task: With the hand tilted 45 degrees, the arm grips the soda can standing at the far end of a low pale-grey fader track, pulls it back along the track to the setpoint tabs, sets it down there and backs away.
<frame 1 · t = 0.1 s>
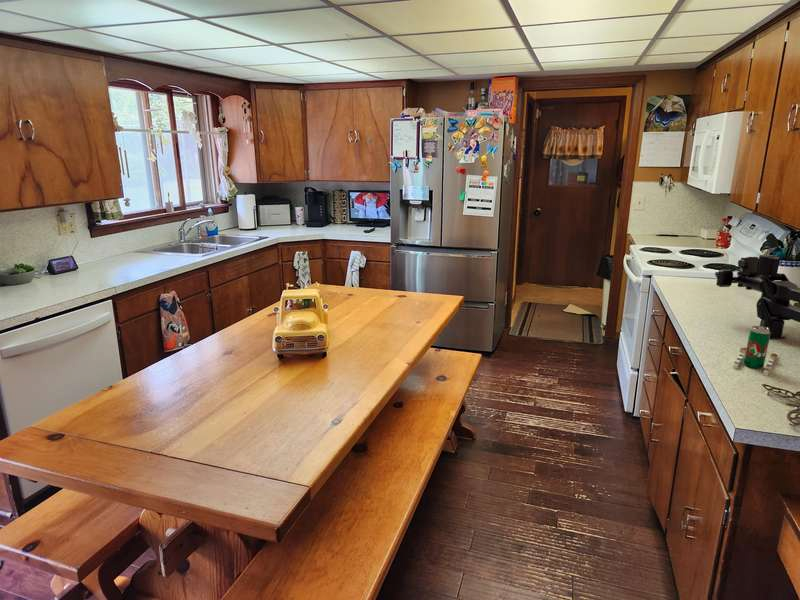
hand: (726, 273, 204), 17 cm above the table, tool horizontal, fingers open, 9 cm apart
soda can: (753, 366, 158), on the table
setpoint tabs: (757, 358, 163), resting on fader track
fader track: (755, 362, 161), on the table
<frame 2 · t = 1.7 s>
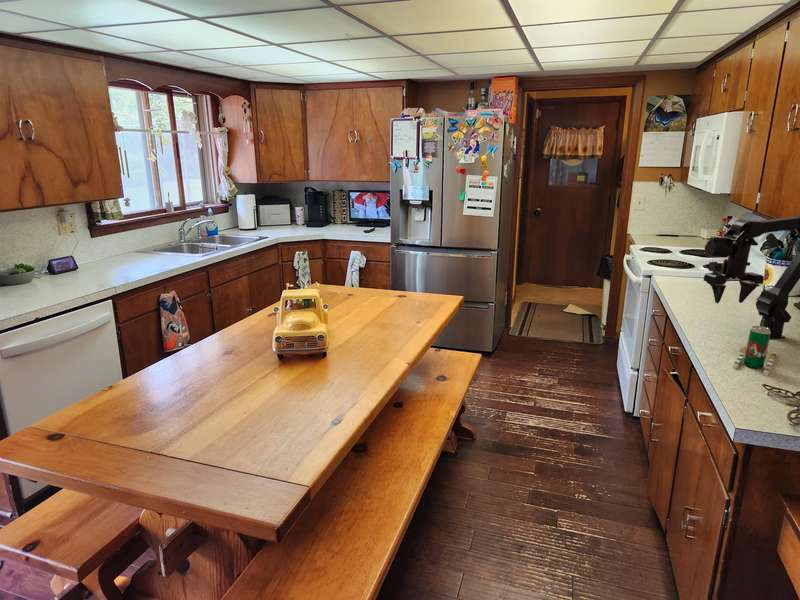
hand: (728, 302, 181), 12 cm above the table, tool pointing down, fingers open, 9 cm apart
nothing on the table moved.
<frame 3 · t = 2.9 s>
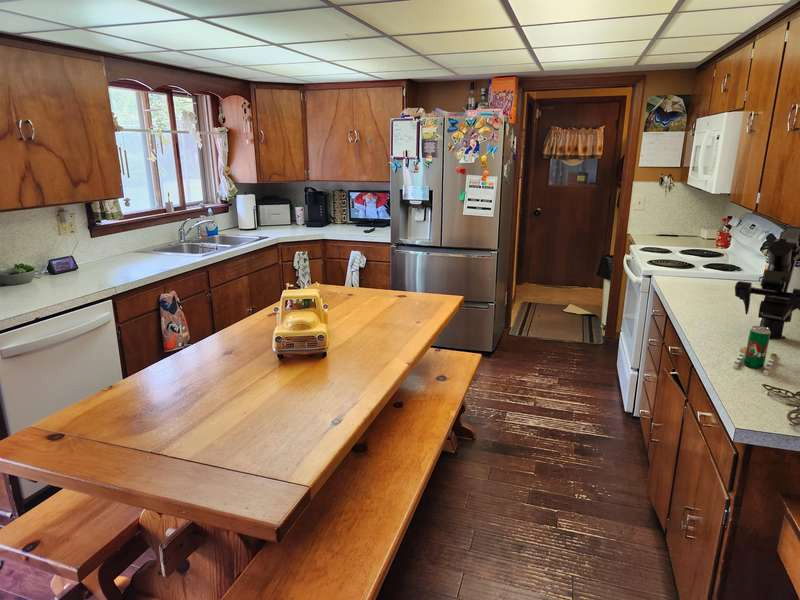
hand: (763, 316, 160), 13 cm above the table, tool tilted 45°, fingers open, 9 cm apart
nothing on the table moved.
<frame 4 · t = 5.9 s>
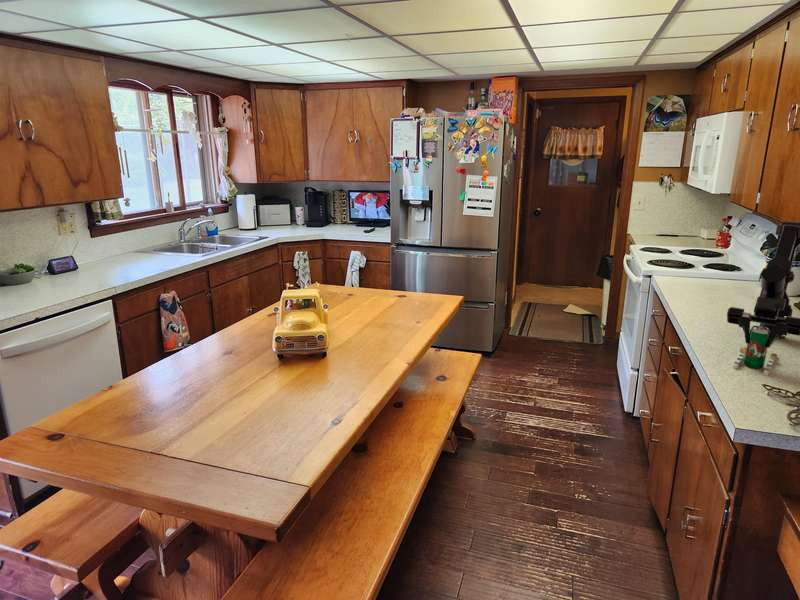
hand: (757, 344, 155), 7 cm above the table, tool tilted 45°, fingers closed on soda can, 5 cm apart
soda can: (753, 366, 158), on the table, touching gripper
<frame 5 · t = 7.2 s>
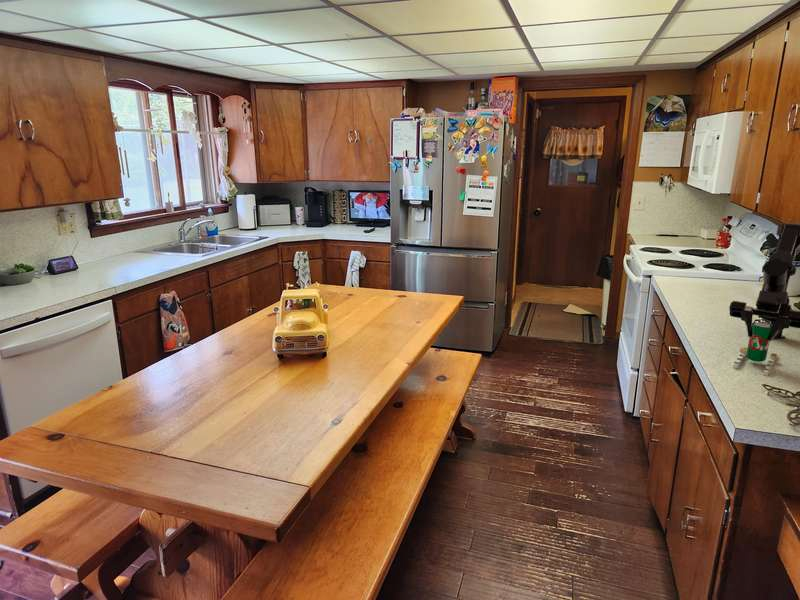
hand: (759, 338, 156), 8 cm above the table, tool tilted 45°, fingers closed on soda can, 5 cm apart
soda can: (755, 359, 159), point 1 cm above the table, touching gripper
when the fingers open (7 cm above the table, at t = 8.9 s): soda can stays where it is, on the table.
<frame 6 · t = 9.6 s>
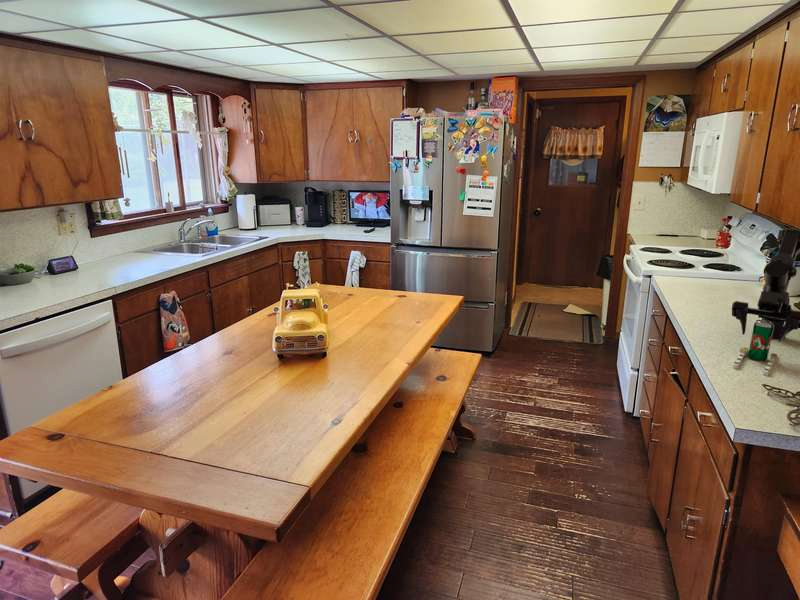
hand: (760, 337, 160), 7 cm above the table, tool tilted 45°, fingers open, 9 cm apart
soda can: (757, 359, 163), on the table
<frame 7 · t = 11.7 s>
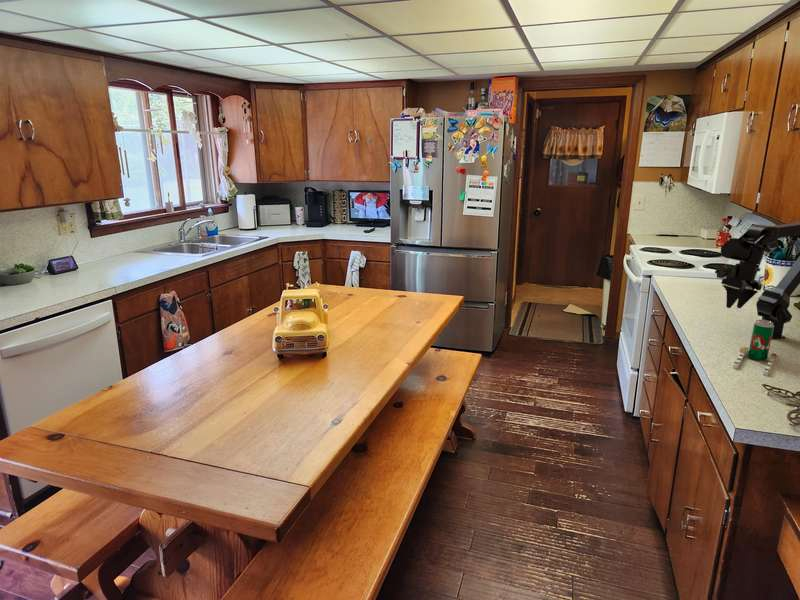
hand: (733, 307, 178), 11 cm above the table, tool pointing down, fingers open, 9 cm apart
nothing on the table moved.
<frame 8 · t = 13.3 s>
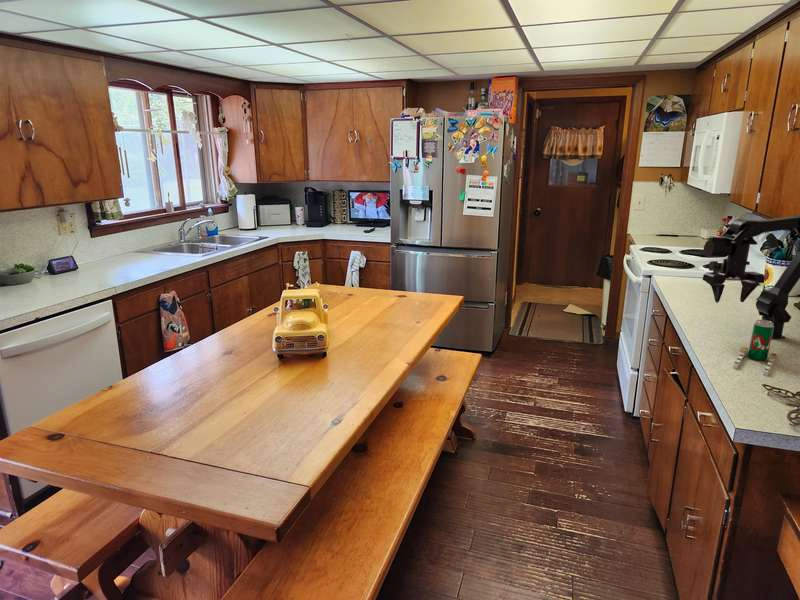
hand: (729, 302, 181), 12 cm above the table, tool pointing down, fingers open, 9 cm apart
nothing on the table moved.
at the end: soda can 0.2 cm from the setpoint tabs (horizontally); soda can tilted 0°; the gripper is holding nothing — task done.
